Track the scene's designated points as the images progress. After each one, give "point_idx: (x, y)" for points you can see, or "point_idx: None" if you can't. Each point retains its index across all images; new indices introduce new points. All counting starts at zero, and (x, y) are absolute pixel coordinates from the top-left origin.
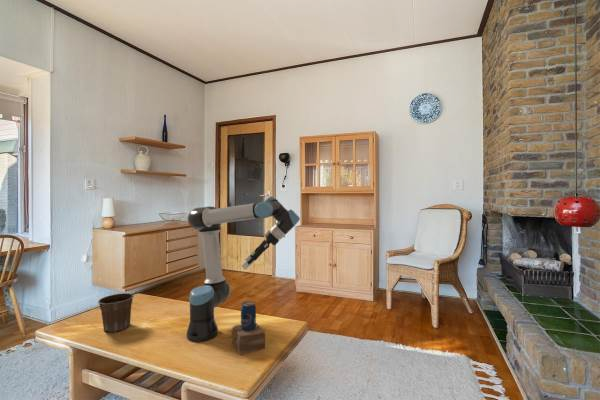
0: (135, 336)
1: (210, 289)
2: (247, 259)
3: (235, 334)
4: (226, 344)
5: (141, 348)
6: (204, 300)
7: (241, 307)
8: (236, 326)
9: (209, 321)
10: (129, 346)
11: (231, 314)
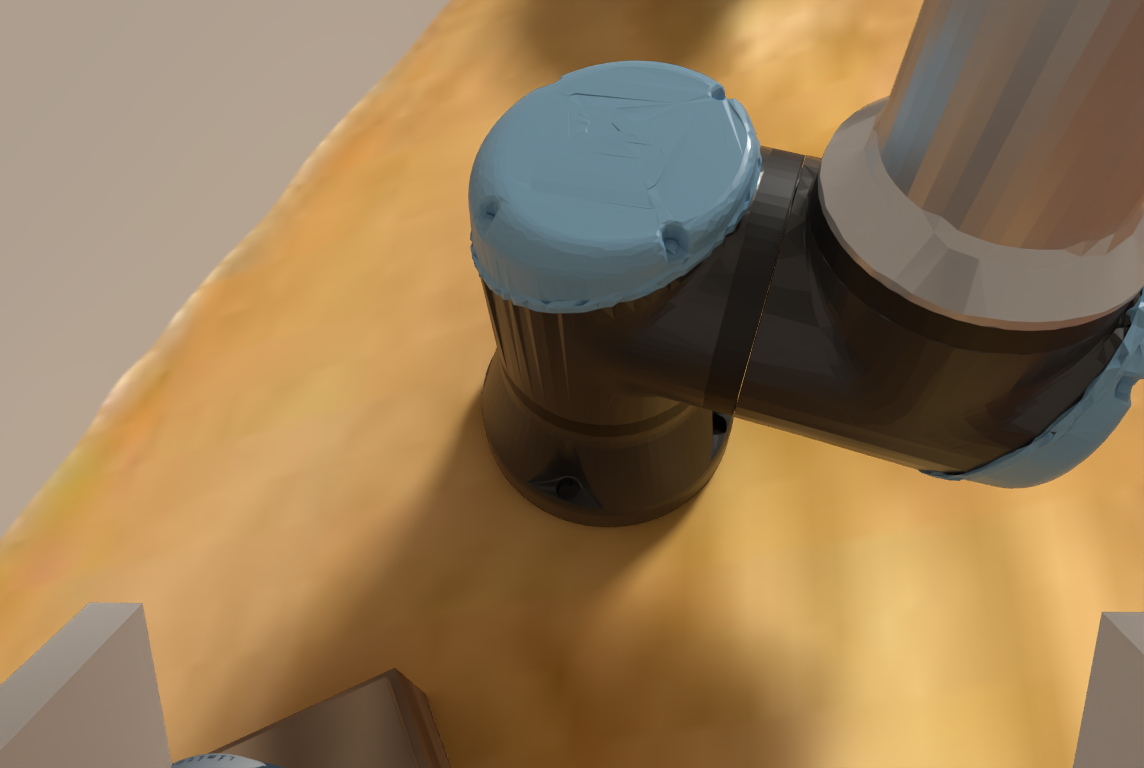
0: (612, 38)
1: (608, 233)
2: (1133, 709)
3: (282, 723)
4: (412, 643)
5: (452, 120)
6: (481, 258)
7: (172, 766)
8: (388, 712)
9: (537, 418)
10: (487, 59)
11: (1053, 578)
